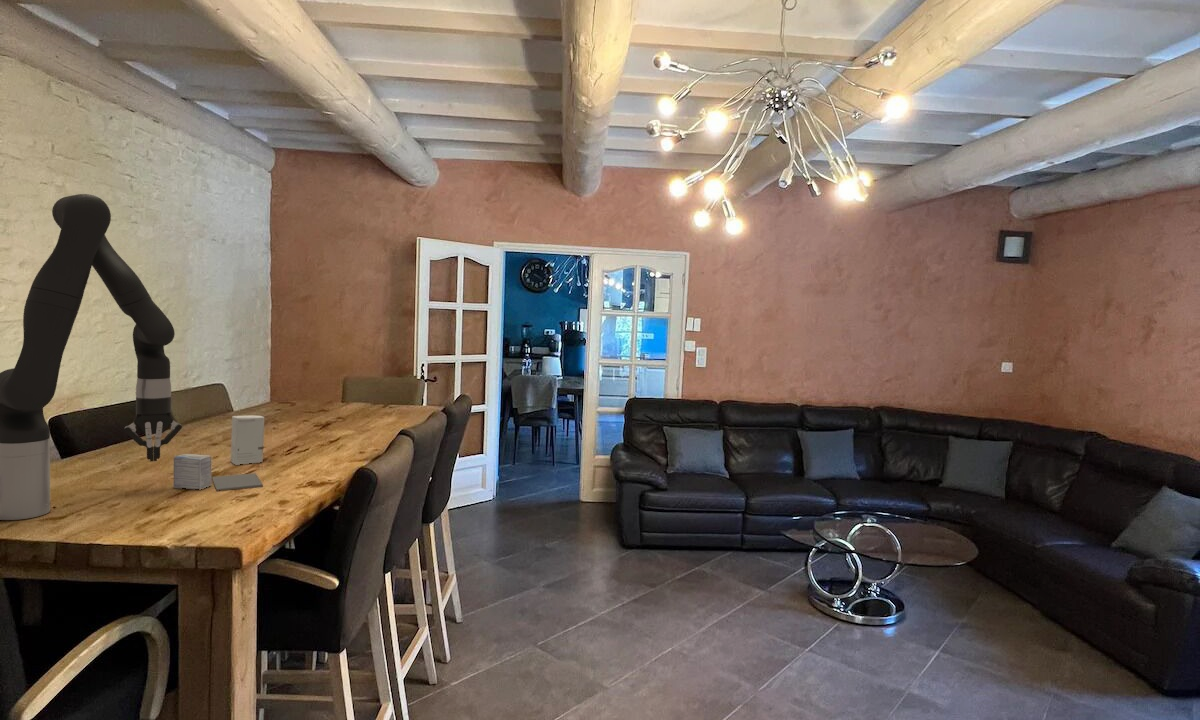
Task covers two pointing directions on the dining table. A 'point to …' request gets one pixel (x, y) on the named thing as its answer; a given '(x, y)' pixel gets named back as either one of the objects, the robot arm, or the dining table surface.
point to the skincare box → (247, 439)
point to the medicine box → (192, 471)
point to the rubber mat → (236, 482)
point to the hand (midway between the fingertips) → (153, 460)
